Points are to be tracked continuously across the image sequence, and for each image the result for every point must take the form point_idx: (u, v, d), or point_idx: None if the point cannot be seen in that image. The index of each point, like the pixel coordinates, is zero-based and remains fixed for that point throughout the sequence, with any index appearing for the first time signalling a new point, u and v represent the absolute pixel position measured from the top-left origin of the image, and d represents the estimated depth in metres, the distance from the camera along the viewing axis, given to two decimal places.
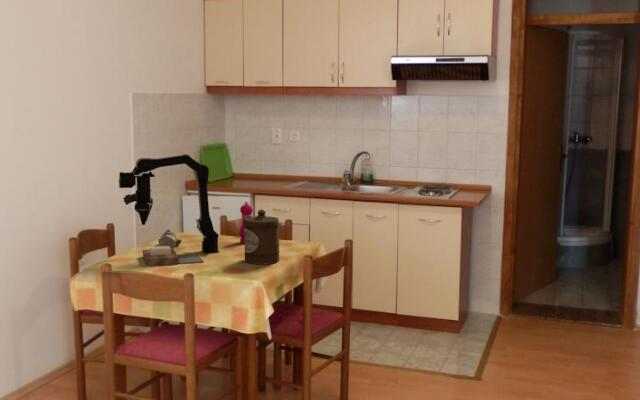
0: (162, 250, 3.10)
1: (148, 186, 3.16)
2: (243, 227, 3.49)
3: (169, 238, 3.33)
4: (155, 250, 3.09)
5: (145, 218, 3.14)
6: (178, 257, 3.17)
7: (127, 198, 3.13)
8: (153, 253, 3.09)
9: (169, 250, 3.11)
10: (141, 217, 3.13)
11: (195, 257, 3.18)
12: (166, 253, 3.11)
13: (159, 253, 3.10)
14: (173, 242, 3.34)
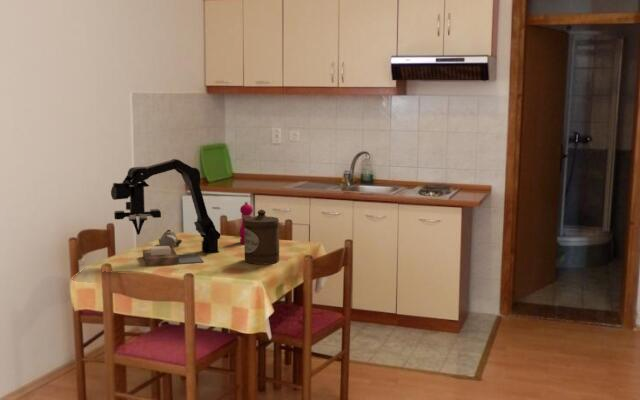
0: (162, 250, 3.10)
1: (143, 196, 3.06)
2: (243, 227, 3.49)
3: (170, 238, 3.33)
4: (155, 250, 3.09)
5: (135, 228, 3.07)
6: (178, 257, 3.17)
7: None
8: (153, 253, 3.09)
9: (169, 250, 3.11)
10: None
11: (195, 257, 3.18)
12: (166, 253, 3.11)
13: (159, 253, 3.10)
14: (173, 242, 3.35)
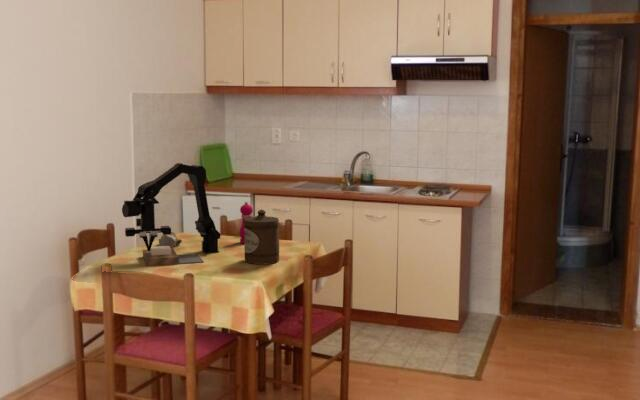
0: (162, 250, 3.10)
1: (153, 213, 3.09)
2: (243, 227, 3.49)
3: (169, 238, 3.33)
4: (155, 250, 3.09)
5: None
6: (178, 257, 3.17)
7: (136, 222, 3.14)
8: (153, 253, 3.09)
9: (169, 250, 3.11)
10: None
11: (195, 257, 3.18)
12: (166, 253, 3.11)
13: (159, 253, 3.10)
14: (173, 242, 3.35)
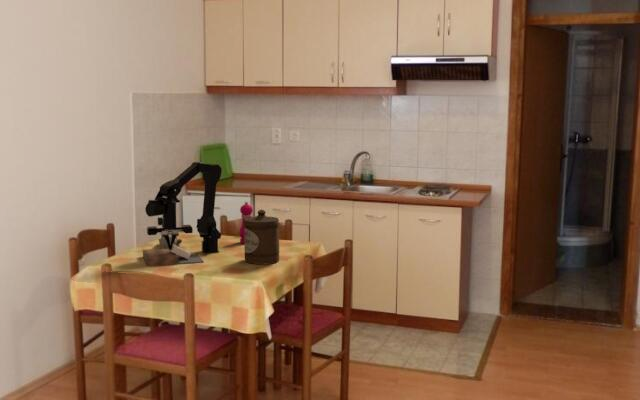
0: (183, 252, 3.12)
1: (175, 212, 3.12)
2: (243, 227, 3.49)
3: (170, 238, 3.33)
4: (177, 249, 3.12)
5: (167, 243, 3.12)
6: (178, 257, 3.17)
7: None
8: (173, 250, 3.11)
9: (189, 255, 3.13)
10: (166, 241, 3.14)
11: (195, 257, 3.18)
12: (185, 256, 3.13)
13: (179, 253, 3.12)
14: (174, 242, 3.35)
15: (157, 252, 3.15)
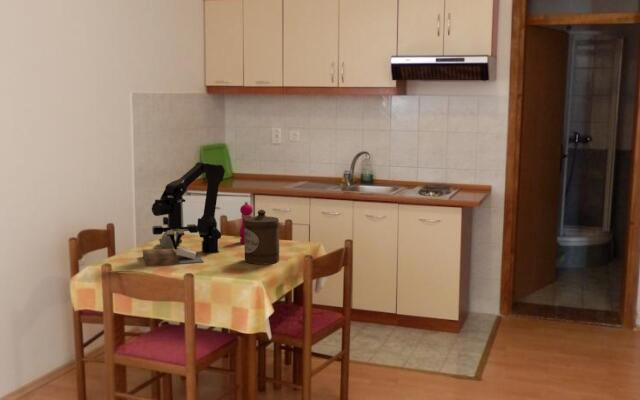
0: (188, 252, 3.13)
1: (181, 211, 3.13)
2: (243, 227, 3.49)
3: (170, 238, 3.34)
4: (181, 250, 3.12)
5: (172, 242, 3.13)
6: (178, 257, 3.17)
7: (163, 220, 3.18)
8: (179, 252, 3.12)
9: (194, 255, 3.14)
10: None
11: (195, 257, 3.18)
12: (190, 257, 3.14)
13: (184, 254, 3.13)
14: None
15: (157, 252, 3.15)
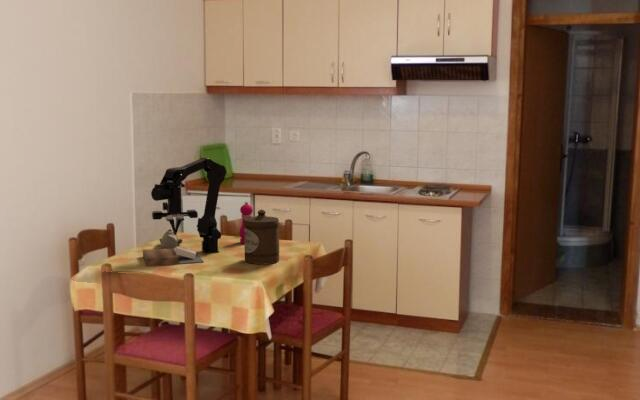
0: (188, 252, 3.13)
1: None
2: (243, 227, 3.49)
3: (171, 238, 3.34)
4: (181, 250, 3.12)
5: (172, 228, 3.12)
6: (178, 257, 3.17)
7: None
8: (179, 252, 3.12)
9: (194, 255, 3.14)
10: (171, 226, 3.14)
11: (195, 257, 3.18)
12: (190, 257, 3.14)
13: (184, 254, 3.13)
14: (175, 242, 3.35)
15: (157, 252, 3.15)
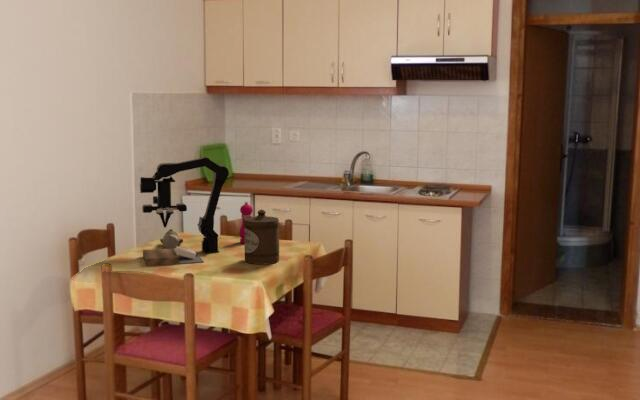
0: (188, 252, 3.13)
1: (168, 191, 3.20)
2: (243, 227, 3.49)
3: (173, 237, 3.34)
4: (181, 250, 3.12)
5: (162, 221, 3.22)
6: (178, 257, 3.17)
7: (153, 200, 3.27)
8: (179, 252, 3.12)
9: (194, 255, 3.14)
10: (161, 219, 3.24)
11: (195, 257, 3.18)
12: (190, 257, 3.14)
13: (184, 254, 3.13)
14: (176, 241, 3.36)
15: (157, 252, 3.15)
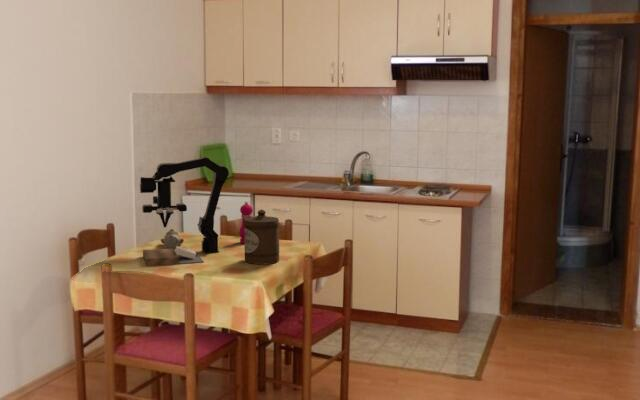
0: (188, 252, 3.13)
1: (168, 191, 3.20)
2: (243, 227, 3.49)
3: (174, 237, 3.34)
4: (181, 250, 3.12)
5: (162, 221, 3.22)
6: (178, 257, 3.17)
7: (153, 200, 3.27)
8: (179, 252, 3.12)
9: (194, 255, 3.14)
10: (161, 219, 3.24)
11: (195, 257, 3.18)
12: (190, 257, 3.14)
13: (184, 254, 3.13)
14: (178, 241, 3.36)
15: (157, 252, 3.15)
